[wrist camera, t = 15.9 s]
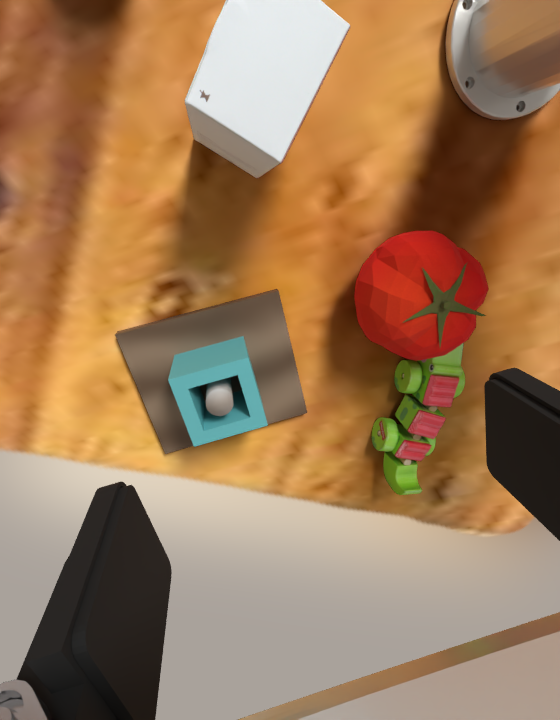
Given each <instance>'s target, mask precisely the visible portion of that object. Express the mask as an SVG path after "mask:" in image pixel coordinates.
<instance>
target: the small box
mask: <svg viewBox="0 0 560 720" xmlns="http://www.w3.org/2000/svg"><path fill="white" fill-rule="evenodd" d="M349 28H350V25H349V24H348V23H347V22H346V21H345V20H344V19H342V18H341V17H340V16H339V15H337V14H336V13H335V12H334V11H333V10H331V9H330V8H329V7H328V6H327V5H326V4H324V3H323V2H322V1H321V0H226V2H225V4H224V6H223V8H222V11H221V13H220V15H219V17H218V19H217V21H216V23H215V26H214V28H213V31H212V33H211V36H210V38H209V40H208V42H207V45H206V49H205V51H204V54H203V57H202V60H201V62H200V64H199V67H198V69H197V72H196V74H195V76H194V79H193V81H192V84H191V86H190V89H189V91H188V94H187V96H186V99H185V105H186V109H187V113H188V117H189V121H190V125H191V129H192V133H193V137H194V139H195V140H196V141H198V142H199V143H201V144H203V145H204V146H206V147H207V148H209V149H211V150H212V151H214V152H215V153H217V154H219V155H220V156H222V157H223V158H225V159H227V160H228V161H230V162H231V163H233V164H235V165H236V166H238V167H239V168H241V169H242V170H244V171H246V172H247V173H249V174H250V175H252V176H254V177H255V178H259V177H261V176H262V175H264V174H265V173H267V172H268V171H270V170H271V169H273V168H274V167H276V166H277V165H279V164H280V163H282V162H283V160H284V159H285V157H286V155H287V153H288V151H289V149H290V147H291V145H292V143H293V141H294V139H295V137H296V135H297V133H298V131H299V129H300V127H301V125H302V123H303V121H304V119H305V117H306V115H307V113H308V111H309V109H310V107H311V105H312V103H313V101H314V99H315V97H316V95H317V93H318V91H319V89H320V87H321V85H322V83H323V81H324V79H325V77H326V75H327V73H328V71H329V69H330V67H331V65H332V63H333V61H334V59H335V57H336V55H337V53H338V51H339V49H340V47H341V45H342V43H343V41H344V39H345V37H346V35H347V33H348V31H349Z"/></svg>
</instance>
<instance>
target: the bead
mask: <svg viewBox="0 0 560 720" xmlns="http://www.w3.org/2000/svg"><path fill="white" fill-rule="evenodd" d="M236 375H238V378H239V381H240V384H241V387H242V390H241V391H238V392H234V393H232V395H233V408H232V410H231V411H230V412H229V413H228V414H226V415H224V416H215V415H213V414H211V413H210V412H209V411H208V410H207V408H206V401H205V400H204V397H203V394H202V391H201V389H200V385H204V384H207V383H211V382H214V381H218V380H221V379H225V378H229V377H232V376H236ZM168 381H169V384H170V386H171V389H172V391H173V394H174V396H175V399H176V402H177V404H178V407H179V409H180V412H181V414H182V417H183V420H184V422H185V425H186V427H187V430H188V433H189V435H190V438H191V440H192V443H193V445H194V447H195V446H199V445H202V444H206V443H209V442H213V441H216V440H219V439H223V438H226V437H230V436H233V435H237V434H240V433H244V432H247V431H250V430H254V429H257V428H261V427H264V426H268V424H267V420H266V416H265V412H264V408H263V404H262V400H261V396H260V392H259V389H258V385H257V382H256V378H255V375H254V371H253V368H252V364H251V361H250V358H249V354H248V351H247V347H246V344H245V340H244V337H243V336H242V337H238V338H234V339H231V340H227V341H224V342H220V343H216V344H213V345H209V346H205V347H202V348H198V349H195V350H191V351H187V352H184V353H180V354H177V355H174V359H173V363H172V367H171V370H170V374H169V378H168Z"/></svg>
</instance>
